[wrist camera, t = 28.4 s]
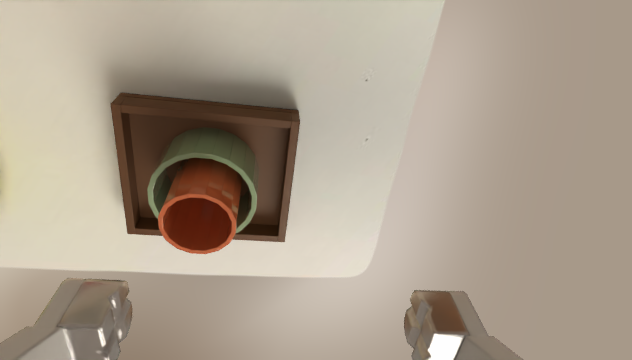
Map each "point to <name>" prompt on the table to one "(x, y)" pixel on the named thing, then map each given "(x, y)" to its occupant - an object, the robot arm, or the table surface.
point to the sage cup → (211, 147)
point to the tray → (149, 144)
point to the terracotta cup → (201, 206)
